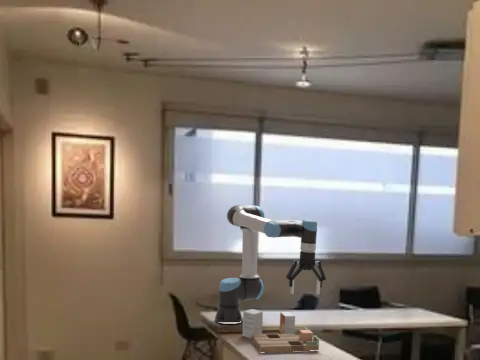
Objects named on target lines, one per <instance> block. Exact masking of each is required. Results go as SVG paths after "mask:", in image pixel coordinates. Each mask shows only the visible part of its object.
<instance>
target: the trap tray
mask: <svg viewBox="0 0 480 360" xmlns="http://www.w3.org/2000/svg"><path fill="white" fill-rule="evenodd" d="M303 330H309V329H308V328H307V327H304V328H303ZM299 331H300V330H294V334H281V333H267V334H266V333H262V334H253V335H252V339H251V342H252V344H253V345H254V346H255V348H256V349H257V350H258V351H259V353H260V352H285V353H296V352H295V351H310V350H319V349H320V338H319V337H318V336H317V335H316V334H315V335H314V334H313V341H302V340H301V339H300V338H299ZM293 351H294V352H293Z"/></svg>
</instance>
